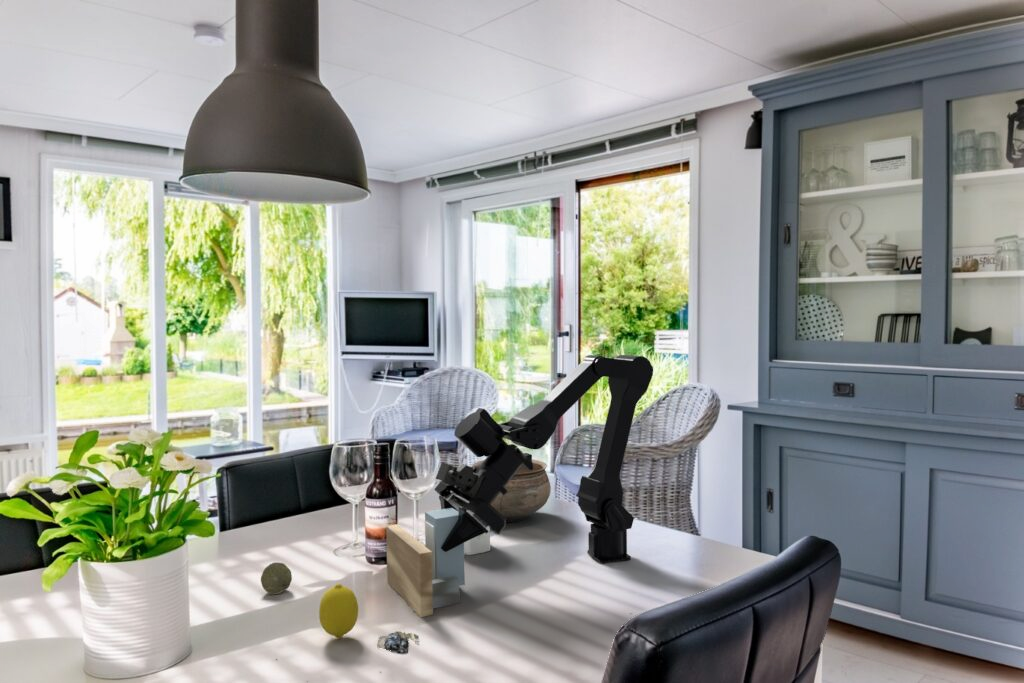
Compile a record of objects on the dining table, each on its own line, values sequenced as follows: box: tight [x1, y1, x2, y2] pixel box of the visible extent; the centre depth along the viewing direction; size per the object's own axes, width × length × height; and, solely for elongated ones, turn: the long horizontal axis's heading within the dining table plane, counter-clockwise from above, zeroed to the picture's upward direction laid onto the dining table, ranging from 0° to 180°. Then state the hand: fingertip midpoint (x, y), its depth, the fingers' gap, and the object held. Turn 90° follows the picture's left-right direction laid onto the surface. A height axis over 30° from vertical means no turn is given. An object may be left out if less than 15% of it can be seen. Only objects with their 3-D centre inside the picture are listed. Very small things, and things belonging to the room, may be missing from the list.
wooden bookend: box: [385, 523, 460, 618], centre depth 120 cm, size 8×17×10 cm, turn 27°
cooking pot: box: [471, 458, 552, 523], centre depth 165 cm, size 25×19×12 cm
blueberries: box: [377, 631, 420, 655], centre depth 102 cm, size 7×8×2 cm
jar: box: [464, 510, 491, 556], centre depth 144 cm, size 9×8×12 cm
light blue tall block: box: [424, 508, 466, 587], centre depth 122 cm, size 5×5×12 cm
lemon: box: [318, 583, 359, 639], centre depth 104 cm, size 6×6×8 cm
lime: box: [260, 561, 293, 595], centre depth 123 cm, size 4×5×5 cm
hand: (437, 545), depth 121 cm, fingers closed on light blue tall block, 5 cm apart
